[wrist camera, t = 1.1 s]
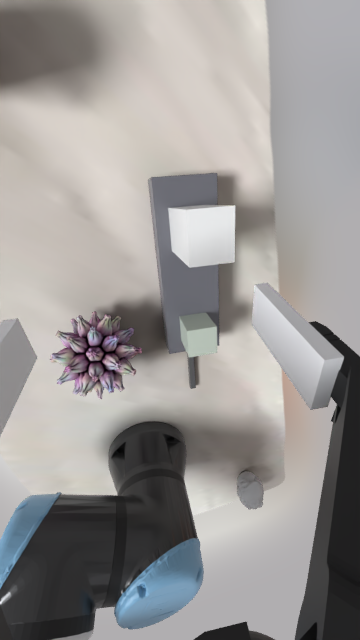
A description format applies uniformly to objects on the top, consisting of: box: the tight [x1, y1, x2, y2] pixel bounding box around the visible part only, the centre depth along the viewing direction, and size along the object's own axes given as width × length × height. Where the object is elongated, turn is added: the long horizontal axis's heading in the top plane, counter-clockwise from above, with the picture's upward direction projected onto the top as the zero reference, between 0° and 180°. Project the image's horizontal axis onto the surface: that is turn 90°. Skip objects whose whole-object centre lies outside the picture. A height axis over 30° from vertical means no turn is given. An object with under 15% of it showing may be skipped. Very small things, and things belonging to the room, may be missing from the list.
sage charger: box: [179, 312, 217, 357], centre depth 37 cm, size 4×4×5 cm
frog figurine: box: [237, 471, 264, 509], centre depth 60 cm, size 6×7×7 cm
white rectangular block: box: [168, 205, 235, 268], centre depth 30 cm, size 5×5×11 cm
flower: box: [50, 311, 142, 399], centre depth 36 cm, size 12×12×12 cm
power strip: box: [148, 173, 219, 389], centre depth 40 cm, size 34×8×5 cm, turn 4°
